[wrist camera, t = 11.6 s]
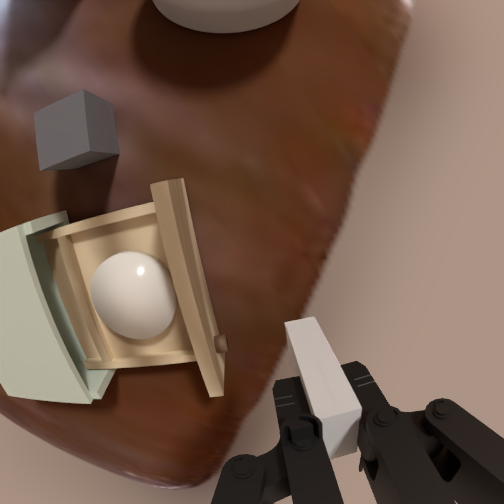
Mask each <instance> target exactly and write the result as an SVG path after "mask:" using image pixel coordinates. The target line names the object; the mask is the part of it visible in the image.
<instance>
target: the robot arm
mask: <svg viewBox="0 0 504 504" xmlns="http://www.w3.org/2000/svg"><path fill="white" fill-rule="evenodd" d="M285 328H286V335H287V342H288V349H289V356H290V364H291V368H292V371H293V375H294V377H292V378H286V379H281V380H276V382H275V384H274V387H273V389H272V390H273V395H274V401H275V406H276V412H277V418H278V424H279V429H280V440H279V442H278V444H277V446H276V447H274V448H273V449H272V450H271V451H269V452H267V453H265V454H263V455H260V456H258V457H256V456H253V455H249V454H243V455H237V456H235V457H232V458H231V459H229V460H228V461H227V462H226V463H225V465H224V466H223V468H222V471H221V475H220V478H219V481H218V484H217V487H216V490H215V493H214V496H213V499H212V502H211V504H274V502H277V501H279V500H281V499H283V498H285V497H288V496H290V495H292V500H293V504H344V503H343V499H342V496H341V493H340V490H339V487H338V484H337V480H336V477H335V475H334V471H333V468H332V465H331V462H330V459H333V458H337V457H341V456H344V455H348V454H351V453H354V452H357V446H358V447H359V449H360V451H361V458H360V464H359V472H361V471H362V469H363V468H364V471H365V474H366V476H367V479H368V481H369V484H370V486H371V489H372V492H373V494H374V497H375V499H376V502H377V504H456V503H455V501H456V502H457V503H458V504H504V438H502V437H501V436H499V435H498V434H497V433H495V432H494V431H493V430H491V429H490V428H488V427H487V426H486V425H485V424H483V423H482V422H481V421H479V420H477V419H476V418H475V417H474V416H472V415H471V414H470V413H468V412H467V411H466V410H464V409H463V408H461V407H460V406H459V405H458V404H456V403H455V402H453V401H451V400H449V399H444V398H441V399H435V400H433V401H431V402H430V403H429V404H428V405H427V406H426V409H425V410H422V411H415V412H401V411H400V410H399V409H398V408H395V407H393V406H390V404H389V403H388V402H387V400H386V398H385V397H384V395H383V394H382V392H381V390H380V389H379V387H378V385H377V384H376V382H374V379H373V377H372V376H371V375H370V373H369V371H368V369H367V368H366V366H364V365H363V364H361V363H359V362H358V361H354V362H351V363H347V364H343V365H340V364H339V362H338V360H337V359H336V356H335V355H334V353H333V351H332V349H331V347H330V345H329V343H328V341H327V339H326V338H325V336H324V334H323V332H322V330H321V328H320V326H319V324H318V322H317V321H316V319H315V317H314V316H313V317H309V318H304V319H299V320H295V321H290V322H285ZM454 500H455V501H454Z"/></svg>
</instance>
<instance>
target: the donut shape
mask: <svg viewBox="0 0 504 504" xmlns="http://www.w3.org/2000/svg"><path fill="white" fill-rule="evenodd" d="M299 1H300V0H153V2H154V4H155V6H156V7H157V9H158V10H159V11H160V12H161V13H162V14H163V15H164V16H165V17H166V18H168V19H169V20H171V21H172V22H174V23H176V24H178V25H181V26H183V27H186V28H189V29H192V30H196V31H201V32H209V33H236V32H244V31H249V30H253V29H257V28H260V27H263V26H266V25H269V24H271V23H273V22H275V21H277V20H279V19H281V18H282V17H284V16H285V15H286V14H288V13H289V12H290V11H291V10H292V9H293V8H294V7H295V6H296V5H297V4H298V2H299Z"/></svg>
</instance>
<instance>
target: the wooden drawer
mask: <svg viewBox="0 0 504 504" xmlns="http://www.w3.org/2000/svg"><path fill="white" fill-rule="evenodd" d="M150 187H151V192H152V197H153V201H154V202H150V203H146V204H142V205H138V206H134V207H130V208H126V209H122V210H118V211H114V212H111V213H107V214H103V215H99V216H96V217H92V218H89V219H85V220H82V221H78V222H75V223H71V224H68V225H65V226H61V227H58V228H55V229H52V230H49V231H45V232H43V233H40V234H38V235H35V236H36V240H37V243H41V242H43V243H44V247H45V250H46V254H47V257H48V261H49V264H50V267H51V270H52V273H53V277H54V280H55V283H56V285H57V288H58V291H59V294H60V297H61V299H62V302H63V305H64V307H65V310H66V312H67V315H68V317H69V320H70V322H71V325H72V327H73V329H74V332H75V334H76V336H77V339H78V341H79V343H80V345H81V347H82V349H83V352H84V354H85V356H86V358H87V359H86V360H85V362H84V363H83V364H84V366H85V368H86V369H111V368H129V367H143V366H155V365H165V364H175V363H184V362H193V361H197V362H198V365H199V368H200V371H201V373H202V376H203V379H204V382H205V385H206V387H207V390H208V393H209V396H210V397H216V396H224V358H225V354H224V352H228V351H229V347H228V341H227V337H226V334H223V335H219V332H218V328H217V324H216V321H215V317H214V313H213V309H212V305H211V301H210V297H209V293H208V289H207V285H206V281H205V276H204V272H203V268H202V264H201V259H200V255H199V251H198V246H197V242H196V237H195V233H194V228H193V223H192V219H191V214H190V209H189V204H188V199H187V194H186V189H185V184H184V179H183V178H181V179H173V180H166V181H162V182H158V183H154V184H150ZM124 250H139V251H143V252H146V253H149V254H151V255H153V256H154V257H156V258H157V259H159V260H160V261H161V262H162V263H163V264H165V266H166V267H167V268H168V269H169V271H170V273H171V276H172V280H173V284H174V287H175V291H176V294H177V298H178V304H177V308H176V311H175V313H174V316H173V319H172V321H171V323H170V324H169V326H168V327H167V328H166V329H165V330H164V331H163V332H161V333H160V334H158V335H156V336H154V337H151V338H147V339H133V338H128V337H125V336H123V335H120V334H118V333H117V332H115V331H113V330H112V329H111V328H109V327H108V326H107V325H106V324H105V323H104V322H103V321H102V320H101V318H100V317H99V315H98V314H97V312H96V310H95V308H94V306H93V302H92V298H91V282H92V278H93V275H94V273H95V271H96V270H97V268H98V267H99V266H100V265H101V264H102V263H103V262H104V261H105V260H107V259H108V258H109V257H111V256H112V255H114V254H116V253H118V252H121V251H124Z"/></svg>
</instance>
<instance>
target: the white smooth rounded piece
mask: <svg viewBox="0 0 504 504" xmlns="http://www.w3.org/2000/svg"><path fill="white" fill-rule="evenodd" d="M91 298H92V302H93V306H94V308H95V310H96V312H97V314H98V315H99V317H100V318H101V320H102V321H103V322H104V323H105V324H106V325H107V326H108V327H109V328H111V329H112V330H113V331H115V332H117V333H118V334H120V335H123V336H125V337H128V338H133V339H147V338H151V337H154V336H156V335H158V334H160V333H161V332H163V331H164V330H165V329H166V328H167V327H168V326H169V324H170V323H171V321H172V319H173V316H174V313H175V311H176V308H177V304H178V298H177V294H176V291H175V287H174V284H173V280H172V276H171V273H170V271H169V269H168V268H167V267H166V266H165V264H163V263H162V262H161V261H160V260H159V259H157V258H156V257H154V256H153V255H151V254H149V253H146V252H143V251H139V250H124V251H121V252H118V253H116V254H114V255H112V256H111V257H109V258H108V259H107V260H105V261H104V262H103V263H102V264H101V265H100V266H99V267H98V268H97V270H96V271H95V273H94V275H93V278H92V282H91Z"/></svg>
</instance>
